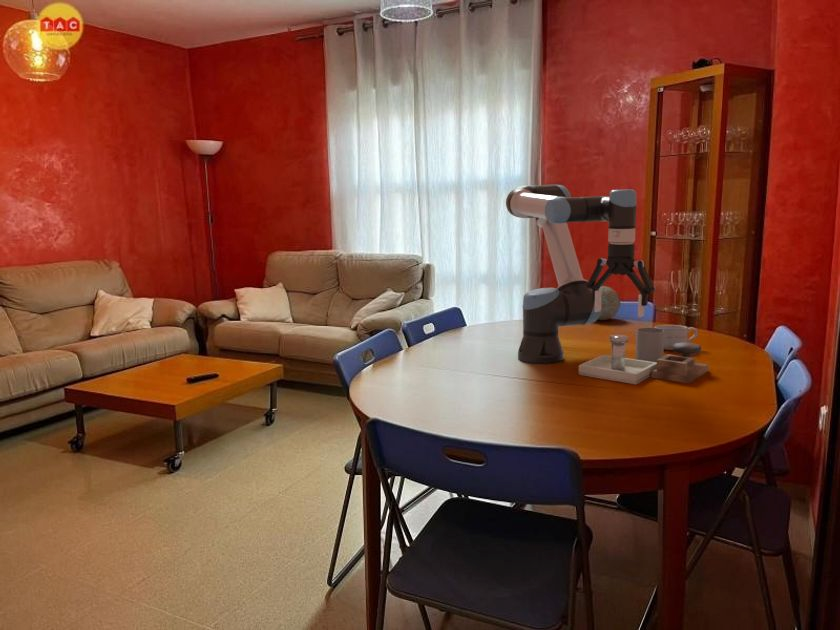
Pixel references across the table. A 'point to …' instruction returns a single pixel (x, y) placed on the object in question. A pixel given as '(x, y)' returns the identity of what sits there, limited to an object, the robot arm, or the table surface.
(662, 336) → the cup
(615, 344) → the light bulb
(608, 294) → the decorative sphere
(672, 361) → the block
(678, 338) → the teacup
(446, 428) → the table surface
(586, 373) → the tray
